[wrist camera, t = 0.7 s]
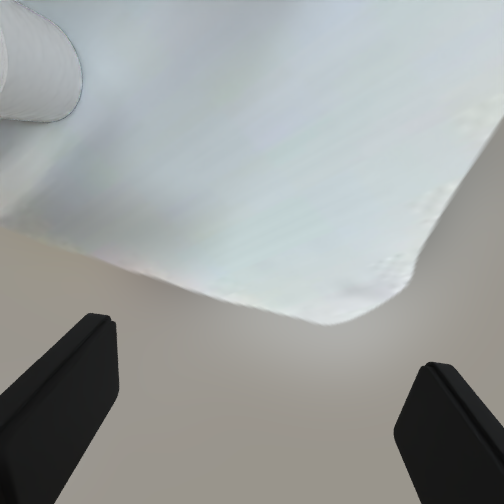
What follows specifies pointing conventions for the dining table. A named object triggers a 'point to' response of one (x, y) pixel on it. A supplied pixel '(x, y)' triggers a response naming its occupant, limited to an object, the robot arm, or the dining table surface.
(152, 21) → the dining table surface
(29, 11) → the toilet tissue
